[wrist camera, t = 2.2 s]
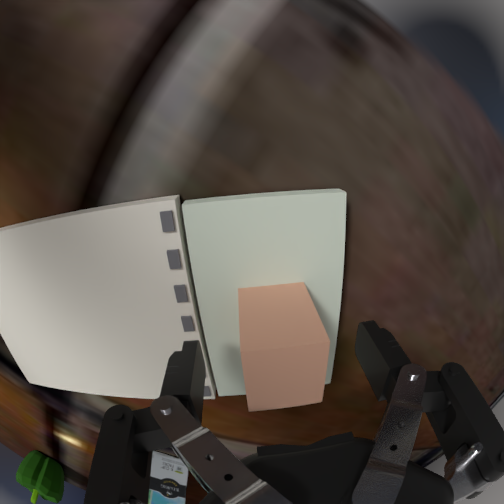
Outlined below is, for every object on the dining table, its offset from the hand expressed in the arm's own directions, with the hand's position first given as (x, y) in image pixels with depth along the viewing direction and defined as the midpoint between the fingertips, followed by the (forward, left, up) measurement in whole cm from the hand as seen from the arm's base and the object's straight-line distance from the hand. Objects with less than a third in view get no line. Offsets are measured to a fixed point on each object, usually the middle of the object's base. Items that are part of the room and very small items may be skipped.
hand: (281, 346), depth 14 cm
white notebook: (0, -13, -4) cm, 14 cm away
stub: (0, 0, -4) cm, 4 cm away
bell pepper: (+30, -37, -4) cm, 48 cm away
